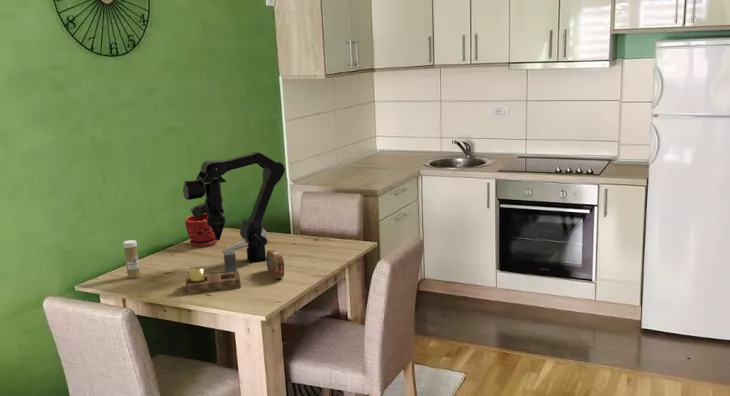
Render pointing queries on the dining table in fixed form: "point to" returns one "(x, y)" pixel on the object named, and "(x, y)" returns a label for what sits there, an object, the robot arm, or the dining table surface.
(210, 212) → the robot arm
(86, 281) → the dining table surface
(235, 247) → the caliper
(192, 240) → the plant pot
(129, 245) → the sprinkles bottle
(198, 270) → the round bit
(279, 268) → the tin
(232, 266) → the square bit
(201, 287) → the bore block
